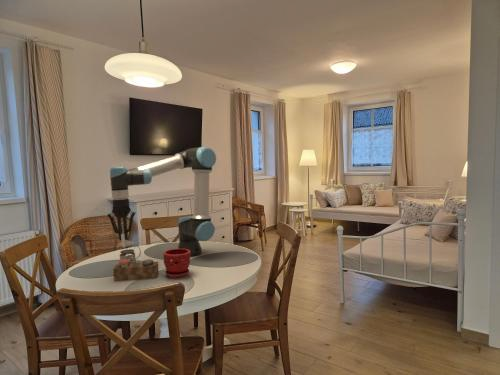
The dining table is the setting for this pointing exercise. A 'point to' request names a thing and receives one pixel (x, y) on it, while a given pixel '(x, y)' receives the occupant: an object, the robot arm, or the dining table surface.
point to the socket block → (135, 271)
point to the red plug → (124, 262)
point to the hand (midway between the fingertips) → (124, 246)
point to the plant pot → (177, 262)
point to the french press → (129, 252)
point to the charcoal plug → (147, 262)
